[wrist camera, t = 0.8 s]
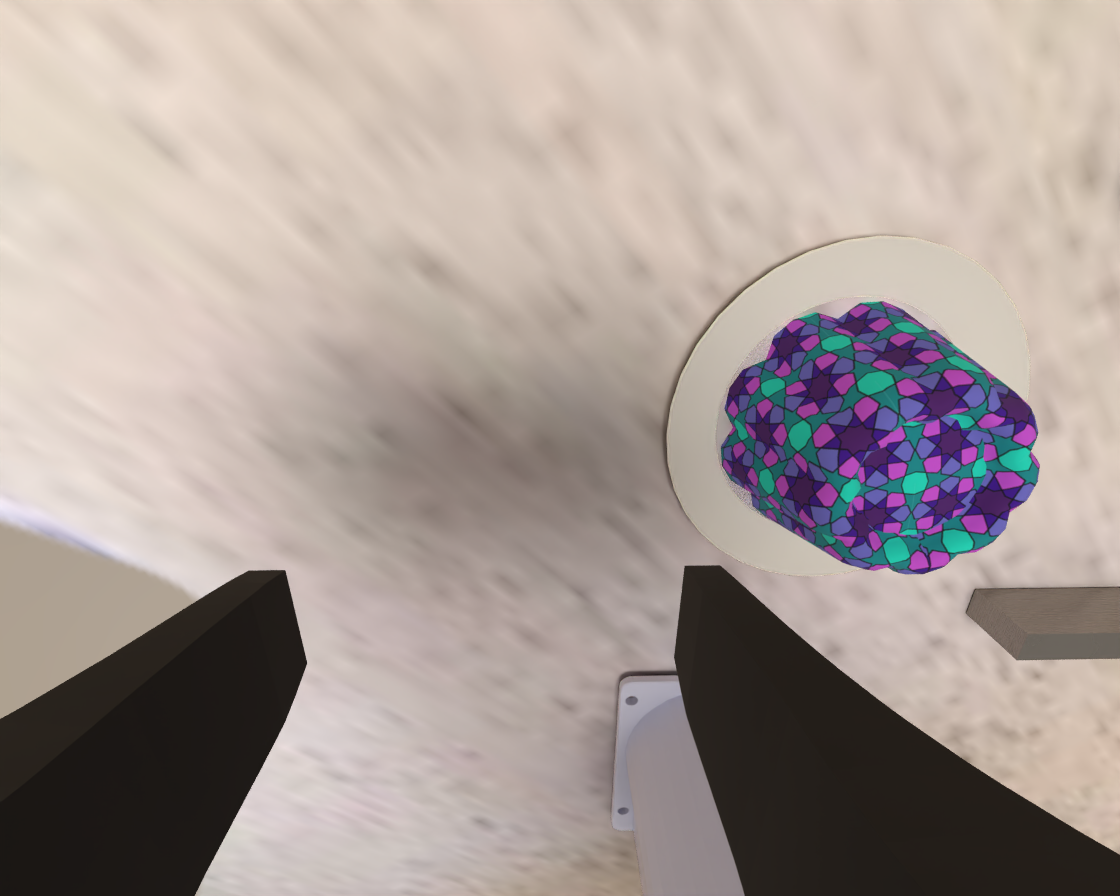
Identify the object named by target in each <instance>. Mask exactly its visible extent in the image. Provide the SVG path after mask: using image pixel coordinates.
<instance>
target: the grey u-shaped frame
mask: <svg viewBox="0 0 1120 896" xmlns="http://www.w3.org/2000/svg"><path fill="white" fill-rule="evenodd" d="M966 614H967V615H968V616H969V617H970V618H972V619H973V620H974V621H975V622H976V623H977V624H978V625H979V626H980V627H981V628H982V629H983V630H985V631H986V632H987V633H988V634H989V635H990V636H991V637H992V638H993V639H994V640H995V641H996V642H998V643H999V644H1000V645H1001V646H1002V647H1003V648H1004V649H1005V650H1006V651H1007V652H1008V653H1009V654H1011V655H1012V656H1013V657H1014V658H1015V659H1016V660H1060V659H1119V658H1120V587H1117V588H1041V589H975V592H974V594H973V597H972V600H971V602H970V605H969V608H968V610H967V613H966Z"/></svg>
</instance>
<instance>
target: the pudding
mask: <svg viewBox="0 0 1120 896" xmlns="http://www.w3.org/2000/svg"><path fill="white" fill-rule="evenodd" d="M861 296H862V297H880V298H887V299H891V300H895V301H899V302H903V303H906V304H908V305H910V306H912V307H914V308H916V309H918V310H920V311H922V312H924V313H925V314H926V315H928V316H929V317H930V318H931V319H933V320H934V321H935V322H936V323H937V324H939V325H940V326H941V328H942V329H943V330H944V332H945V333H946V334H947V336H948V337H949V338H950V340H951V341H952V343H953V344H952V343H951V342H949V341H948V340H947V339H946V338H944V337H943V336H942V335H940V334H939V333H938V332H936V331H935V330H929V329H927V328H926V327H925V326H923V325H922V324H921V323H919V322H918V321H917V320H916V319H914V318H913V317H912V316H910V315H909V314H908V313H906V312H905V311H904V310H902V309H900V308H898V307H895V306H893V305H891V304H888V303H886V302H883V301H882V302H867V303H860V304H858V305H857V306H855V307H854V308H853V309H851V310H850V311H848V312H847V313H846V314H844V315H843V316H841V317H840V318H839V319H836V318H833V317H829V316H826V315H823V314H819V313H816V312H815V313H812V314H809V315H807V316H804V317H801V318H798V319H795V320H793V321H792V322H790V323H789V324H788V325H787V326H786V327H784V328H783V329H782V330H781V331H780V332H778V333H777V334H776V335H775V336H774V338H773V341H772V344H771V347H770V350H769V353H768V356H767V358H766V360H765V361H762V362H760V363H758V364H755V365H753V366H751V367H748V368H746V369H744V370H742V372H741V373H740V374H739V376H738V377H737V379H736V380H735V381H734V383H733V384H732V385H731V387H730V388H729V393H728V397H727V401H726V405H725V411H726V413H727V415H728V417H729V419H730V422H731V424H732V426H733V429H732V430H731V432H730V433H729V435H728V437H727V438H726V440H725V441H724V443H723V444H722V446H721V457H722V466H723V468H724V469H725V471H726V473H727V474H728V476H729V478H730V479H731V481H733V482H735V483H736V484H738V485H740V486H741V487H743V488H744V489H746V490H748V491H749V492H751V496H752V504H753V506H754V507H755V508H756V509H757V510H758V511H760V512H761V513H762V514H763V515H764V516H766V517H767V518H769V519H771V520H769V519H767V518H764V517H763V516H761V515H760V514H758V513H756V512H755V511H753V510H751V509H750V508H749V507H748V506H747V505H746V504H745V503H743V502H742V501H741V500H740V499H739V498H738V497H737V496H736V494H735V493H734V491H733V490H732V489H731V487H730V486H729V484H728V483H727V481H726V479H725V476H724V474H723V472H722V469H721V467H720V463H719V458H718V453H717V449H716V426H717V420H718V415H719V409H720V406H721V403H722V400H723V397H724V395H725V392H726V389H727V387H728V385H729V383H730V381H731V380H732V378H733V376H734V374H735V372H736V371H737V369H738V367H739V366H740V365H741V363H742V362H743V361H744V359H745V358H746V357H747V356H748V354H749V353H750V352H751V351H752V349H753V348H754V347H755V346H756V345H757V344H758V343H759V342H761V341H762V340H763V339H764V338H765V337H766V336H767V335H768V334H769V333H770V332H771V331H773V330H774V329H776V328H777V327H779V326H780V325H781V324H783V323H784V322H786V321H787V320H789V319H790V318H792V317H794V316H796V315H798V314H800V313H802V312H804V311H806V310H808V309H810V308H812V307H814V306H818V305H821V304H824V303H828V302H831V301H834V300H838V299H845V298H853V297H861ZM1029 381H1030V356H1029V349H1028V342H1027V336H1026V331H1025V329H1024V326H1023V324H1022V321H1021V319H1020V316H1019V313H1018V311H1017V308H1016V306H1015V304H1014V303H1013V301H1012V300H1011V298H1010V297H1009V296H1008V294H1007V293H1006V291H1005V290H1004V288H1003V287H1002V285H1001V284H1000V283H999V281H998V280H997V279H995V278H994V277H993V276H992V275H991V274H990V273H989V272H988V271H986V270H985V269H984V268H983V267H982V266H981V265H980V264H979V263H977V262H976V261H975V260H973V259H971V258H969V257H967V256H965V255H963V254H961V253H960V252H958V251H956V250H954V249H952V248H950V247H948V246H945V245H941V244H938V243H934V242H930V241H927V240H923V239H919V238H913V237H897V236H874V237H866V238H858V239H850V240H844V241H841V242H838V243H834V244H831V245H828V246H825V247H821V248H818V249H815V250H812V251H809V252H807V253H805V254H803V255H801V256H799V257H797V258H795V259H793V260H791V261H789V262H787V263H785V264H783V265H781V266H779V267H777V268H775V269H774V270H772V271H771V272H769V273H768V274H767V275H765V276H764V277H762V278H761V279H760V280H758V281H757V282H755V283H754V284H753V285H751V286H750V287H748V288H747V289H746V290H744V291H743V292H742V293H741V294H740V295H739V296H738V297H737V298H736V299H735V300H734V301H733V302H732V303H731V304H730V305H729V306H728V307H727V308H726V309H725V310H724V311H723V312H722V313H721V314H720V315H719V316H718V317H717V318H716V320H715V321H714V322H713V324H712V325H711V326H710V328H709V329H708V330H707V332H706V333H705V334H704V336H703V337H702V338H701V340H700V341H699V342H698V344H697V345H696V347H695V349H694V351H693V353H692V354H691V356H690V358H689V360H688V362H687V364H686V366H685V368H684V370H683V372H682V373H681V376H680V379H679V382H678V385H677V388H676V391H675V394H674V397H673V400H672V403H671V407H670V414H669V421H668V428H667V435H666V436H667V460H668V467H669V471H670V475H671V479H672V483H673V487H674V490H675V493H676V495H677V497H678V499H679V501H680V503H681V505H682V507H683V510H684V512H685V513H686V515H687V516H688V517H689V519H690V520H691V521H692V523H693V524H694V525H695V527H696V528H697V529H698V531H699V532H700V533H701V534H702V535H703V536H704V537H705V538H707V539H708V540H709V541H710V542H711V543H712V544H713V545H714V546H716V547H717V548H718V549H719V550H721V551H723V552H724V553H726V554H728V555H729V556H731V557H733V558H734V559H736V560H738V561H739V562H742V563H744V564H747V565H750V566H753V567H755V568H758V569H761V570H763V571H768V572H773V573H779V574H784V575H789V576H825V575H834V574H843V573H848V572H852V571H856V570H860V569H867V570H873V571H875V570H878V569H882V568H886V567H888V568H890V569H891V570H893V571H895V572H898V573H902V574H925V573H928V572H931V571H934V570H937V569H939V568H942V567H944V566H945V565H946V564H948V563H949V562H950V561H951V560H952V559H953V558H954V557H955V556H956V555H957V554H963V553H972V552H977V551H978V550H980V549H982V548H983V547H985V546H987V545H989V544H990V543H992V542H993V541H994V540H995V539H996V538H997V537H998V536H999V535H1000V534H1001V533H1002V532H1003V531H1004V530H1005V529H1006V525H1007V520H1008V516H1009V512H1011V511H1012V510H1014V509H1015V508H1016V507H1018V506H1019V505H1021V504H1022V503H1024V502H1025V501H1026V500H1027V499H1028V497H1029V496H1030V494H1031V492H1032V490H1033V489H1034V487H1035V485H1036V483H1037V482H1038V475H1039V467H1040V464H1039V463H1038V461H1037V459H1036V458H1035V456H1034V455H1033V454H1032V453H1031V450H1032V447H1033V445H1034V443H1035V441H1036V438H1037V435H1038V429H1037V425H1036V420H1035V416H1034V414H1033V412H1032V410H1031V408H1030V406H1029V405H1028V404H1027V403H1026V402H1027V398H1028V394H1029Z"/></svg>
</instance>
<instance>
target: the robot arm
mask: <svg viewBox="0 0 1120 896" xmlns="http://www.w3.org/2000/svg"><path fill="white" fill-rule="evenodd" d="M674 659H675V664H676V669H677V674H678V675H669V676H629V677H626V678H624V679H623V680H622V681H621V682H620V685H619V697H618V712H617V728H616V744H615V760H614V776H613V791H612V807H611V823H612V827H613V828H614V829H616V830H618V831H634V838H635V844H636V851H637V858H638V865H639V872H640V879H641V886H642V893H643V896H1120V855H1119V854H1117V853H1116V852H1114V851H1112V850H1111V849H1109V848H1107V847H1105V846H1104V845H1102V844H1100V843H1098V842H1097V841H1095V840H1093V839H1091V838H1090V837H1088V836H1086V835H1084V834H1083V833H1081V832H1079V831H1078V830H1076V829H1074V828H1072V827H1071V826H1069V825H1068V824H1066V823H1064V822H1063V821H1061V820H1059V819H1058V818H1056V817H1054V816H1053V815H1051V814H1050V813H1048V812H1046V811H1045V810H1043V809H1041V808H1040V807H1038V806H1036V805H1035V804H1033V803H1032V802H1030V801H1028V800H1027V799H1025V798H1023V797H1022V796H1020V795H1018V794H1017V793H1015V792H1014V791H1012V790H1010V789H1009V788H1007V787H1005V786H1004V785H1002V784H1001V783H999V782H997V781H996V780H994V779H993V778H991V777H990V776H988V775H987V774H985V773H983V772H982V771H980V770H979V769H977V768H976V767H974V766H973V765H971V764H969V763H968V762H966V761H965V760H963V759H962V758H960V757H959V756H958V755H956V754H955V753H953V752H952V751H950V750H949V749H947V748H946V747H944V746H943V745H942V744H940V743H939V742H937V741H936V740H934V739H933V738H931V737H930V736H928V735H927V734H926V733H924V732H923V731H921V730H920V729H918V728H917V727H915V726H914V725H912V724H911V723H910V722H908V721H907V720H905V719H904V718H903V717H901V716H900V715H898V714H897V713H896V712H894V711H893V710H892V709H890V708H889V707H887V706H886V705H885V704H883V703H882V702H881V701H879V700H878V699H877V698H876V697H874V696H873V695H872V694H870V693H869V692H868V691H867V690H865V689H864V688H863V687H861V686H860V685H859V684H858V683H856V682H855V681H854V680H852V679H851V678H850V677H849V676H847V675H846V674H845V673H843V672H842V671H841V670H840V669H838V668H837V667H836V666H835V665H833V664H832V663H831V662H830V661H829V660H827V659H826V658H825V657H824V656H822V655H821V654H820V653H819V652H818V651H816V650H815V649H814V648H813V647H812V646H810V645H809V644H808V643H807V642H806V641H805V640H803V639H802V638H801V637H800V636H799V635H798V634H796V633H795V632H794V631H793V630H792V629H791V628H789V627H788V626H787V625H786V624H785V623H784V622H783V621H782V620H780V619H779V618H778V617H777V616H776V615H775V614H774V613H773V612H771V611H770V610H769V609H768V608H767V607H766V606H765V605H764V604H763V603H761V602H760V601H759V600H758V599H757V598H756V597H755V596H754V595H753V594H751V593H750V592H749V591H748V590H747V589H746V588H745V587H744V586H743V585H742V584H740V583H739V582H738V581H737V580H736V579H735V578H734V577H733V576H732V575H730V574H729V573H728V572H727V571H726V570H725V569H724V568H722V567H721V566H720V565H717V566H685V568H684V577H683V585H682V594H681V603H680V611H679V620H678V629H677V638H676V646H675V655H674ZM306 665H307V660H306V656H305V652H304V648H303V643H302V639H301V635H300V631H299V626H298V622H297V618H296V614H295V609H294V605H293V601H292V597H291V592H290V588H289V584H288V580H287V575H286V571H285V570H263V571H247V572H245V573H244V574H242V575H240V576H238V577H236V578H234V579H233V580H231V581H229V582H227V583H226V584H224V585H222V586H221V587H219V588H217V589H216V590H214V591H212V592H211V593H209V594H207V595H206V596H204V597H203V598H201V599H199V600H198V601H196V602H195V603H193V604H191V605H190V606H188V607H187V608H185V609H183V610H182V611H180V612H179V613H177V614H175V615H174V616H172V617H171V618H169V619H167V620H166V621H164V622H163V623H161V624H160V625H158V626H156V627H155V628H153V629H151V630H150V631H148V632H147V633H145V634H143V635H142V636H140V637H139V638H137V639H135V640H134V641H132V642H131V643H129V644H127V645H126V646H124V647H122V648H121V649H119V650H118V651H116V652H115V653H113V654H111V655H110V656H108V657H106V658H105V659H103V660H101V661H99V662H98V663H96V664H94V665H93V666H91V667H89V668H87V669H86V670H84V671H82V672H81V673H79V674H77V675H76V676H74V677H72V678H71V679H69V680H67V681H65V682H64V683H62V684H60V685H59V686H57V687H55V688H54V689H52V690H50V691H48V692H47V693H45V694H43V695H42V696H40V697H38V698H36V699H35V700H33V701H31V702H30V703H28V704H26V705H25V706H23V707H21V708H19V709H18V710H16V711H14V712H12V713H10V714H9V715H7V716H5V717H3V718H1V719H0V896H195V894H196V892H197V890H198V888H199V886H200V884H201V882H202V880H203V878H204V876H205V874H206V872H207V870H208V868H209V866H210V864H211V862H212V860H213V859H214V857H215V855H216V853H217V851H218V849H219V847H220V845H221V843H222V842H223V840H224V838H225V836H226V834H227V832H228V830H229V828H230V826H231V825H232V823H233V821H234V819H235V817H236V815H237V813H238V811H239V809H240V808H241V806H242V804H243V802H244V800H245V798H246V796H247V794H248V792H249V791H250V789H251V787H252V785H253V783H254V781H255V779H256V777H257V776H258V774H259V772H260V770H261V768H262V766H263V764H264V762H265V760H266V758H267V756H268V754H269V752H270V751H271V749H272V747H273V745H274V743H275V741H276V739H277V737H278V735H279V733H280V731H281V729H282V727H283V725H284V723H285V721H286V718H287V716H288V713H289V711H290V708H291V706H292V703H293V701H294V698H295V696H296V693H297V690H298V687H299V685H300V682H301V679H302V676H303V673H304V671H305V668H306ZM630 696H634V697H631V698H628V697H630Z"/></svg>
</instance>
